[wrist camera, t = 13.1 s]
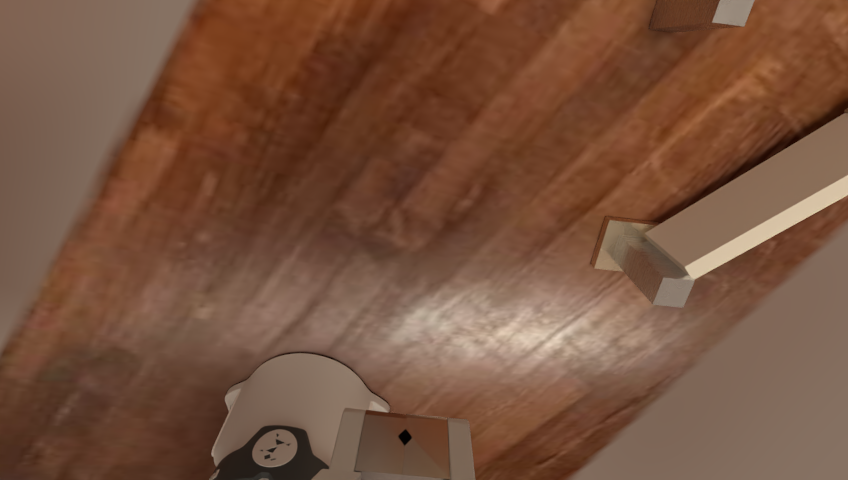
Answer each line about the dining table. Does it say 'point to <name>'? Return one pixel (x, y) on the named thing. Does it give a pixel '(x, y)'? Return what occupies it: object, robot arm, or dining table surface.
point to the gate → (759, 202)
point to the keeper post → (699, 14)
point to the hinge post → (641, 261)
